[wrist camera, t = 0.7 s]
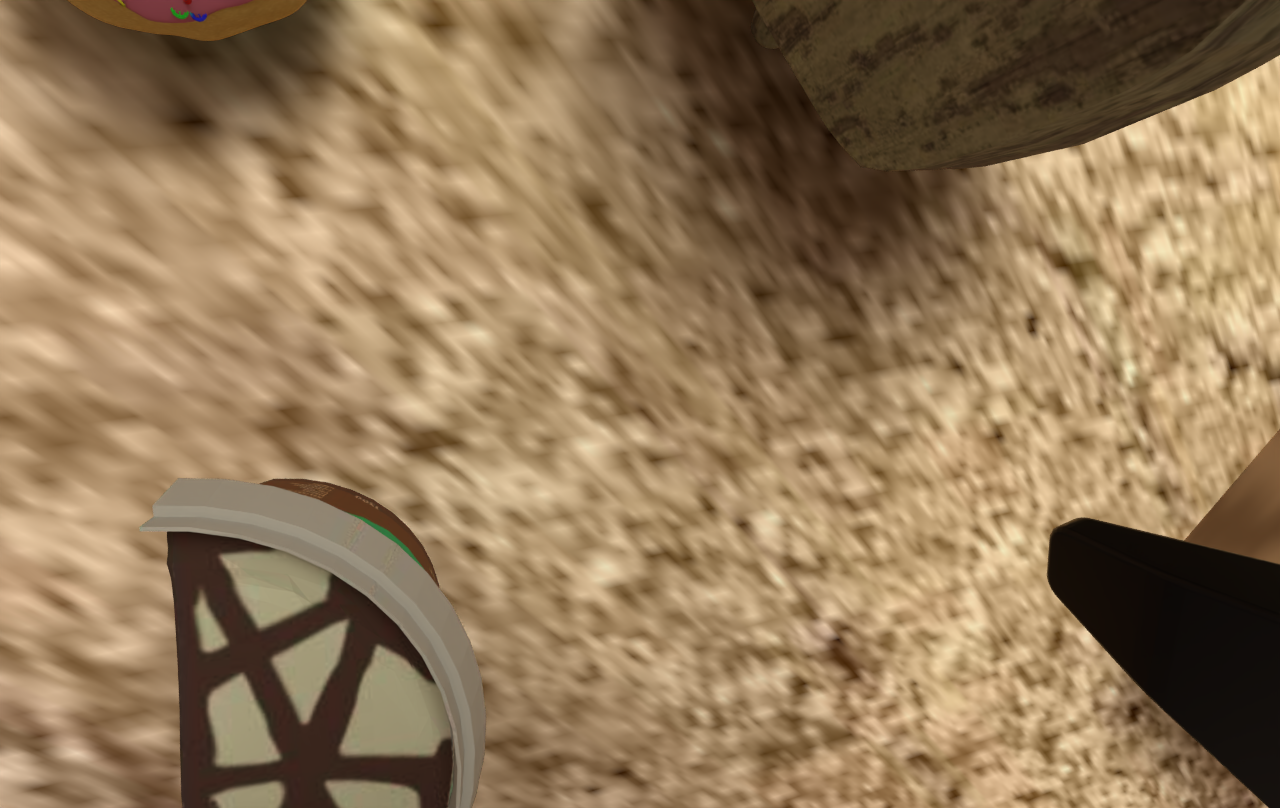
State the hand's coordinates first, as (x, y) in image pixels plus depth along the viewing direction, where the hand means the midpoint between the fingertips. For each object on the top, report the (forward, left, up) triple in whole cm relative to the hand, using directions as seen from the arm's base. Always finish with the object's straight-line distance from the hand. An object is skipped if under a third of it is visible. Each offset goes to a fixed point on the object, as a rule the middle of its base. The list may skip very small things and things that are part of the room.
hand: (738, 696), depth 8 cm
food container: (-6, +5, -18) cm, 19 cm away
